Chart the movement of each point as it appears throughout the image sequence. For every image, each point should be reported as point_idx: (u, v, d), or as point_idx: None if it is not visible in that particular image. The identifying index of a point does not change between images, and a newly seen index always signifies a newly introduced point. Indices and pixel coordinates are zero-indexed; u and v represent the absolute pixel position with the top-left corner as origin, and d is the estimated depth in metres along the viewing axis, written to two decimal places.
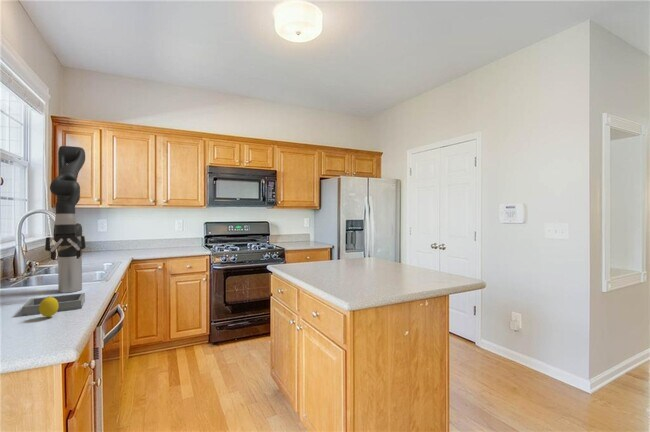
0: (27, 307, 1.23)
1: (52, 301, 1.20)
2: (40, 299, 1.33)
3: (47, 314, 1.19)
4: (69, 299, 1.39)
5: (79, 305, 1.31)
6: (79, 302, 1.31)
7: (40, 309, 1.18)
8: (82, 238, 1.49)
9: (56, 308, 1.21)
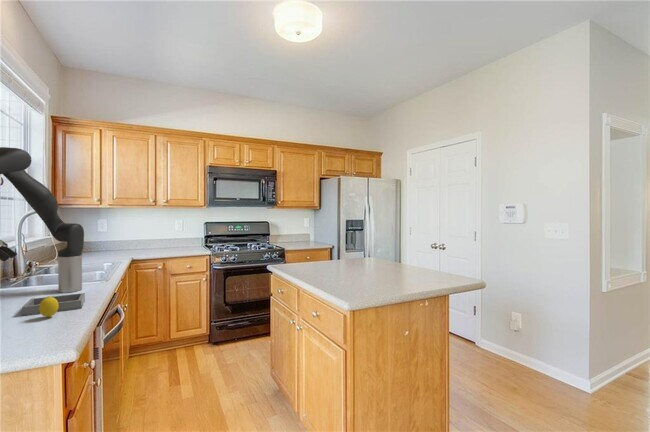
0: (27, 307, 1.23)
1: (52, 301, 1.20)
2: (40, 299, 1.33)
3: (47, 314, 1.19)
4: (69, 299, 1.39)
5: (79, 305, 1.31)
6: (79, 302, 1.31)
7: (40, 309, 1.18)
8: None
9: (56, 308, 1.21)
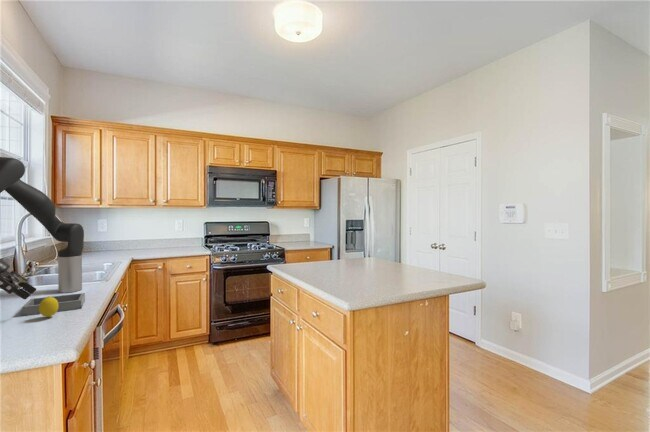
0: (27, 307, 1.23)
1: (52, 301, 1.20)
2: (40, 299, 1.33)
3: (47, 314, 1.19)
4: (69, 299, 1.39)
5: (79, 305, 1.31)
6: (79, 302, 1.31)
7: (40, 309, 1.18)
8: None
9: (56, 308, 1.21)
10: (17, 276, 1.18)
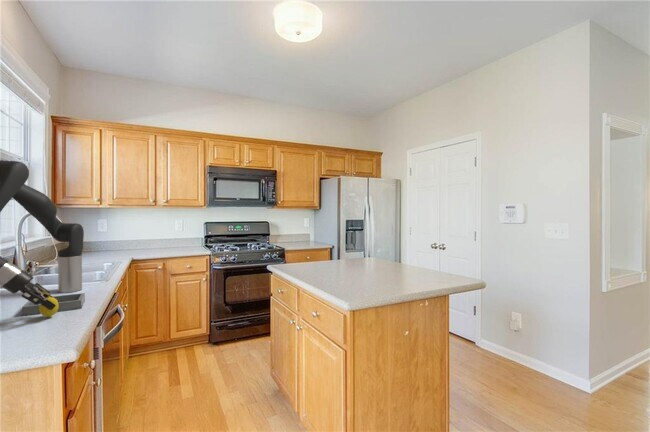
0: (27, 307, 1.23)
1: (52, 301, 1.20)
2: None
3: (47, 314, 1.19)
4: (69, 299, 1.39)
5: (79, 305, 1.31)
6: (79, 302, 1.31)
7: (40, 309, 1.18)
8: None
9: (56, 308, 1.21)
10: (40, 287, 1.21)
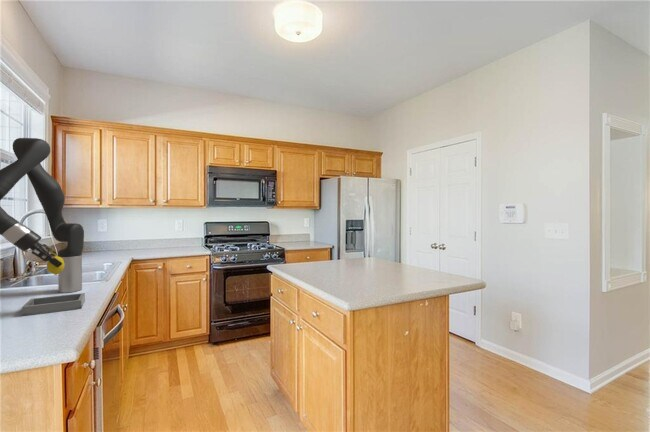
0: (27, 307, 1.23)
1: (59, 259, 1.31)
2: (40, 299, 1.33)
3: (54, 271, 1.30)
4: (69, 299, 1.39)
5: (79, 305, 1.31)
6: (79, 302, 1.31)
7: (48, 266, 1.29)
8: None
9: (62, 266, 1.32)
10: (48, 247, 1.32)
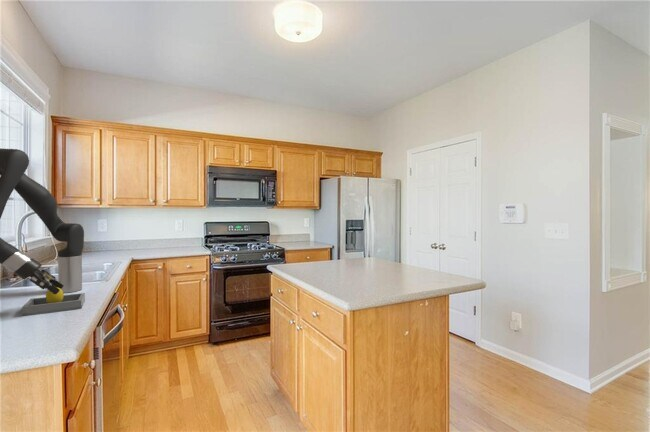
0: (27, 307, 1.23)
1: None
2: (40, 299, 1.33)
3: None
4: (69, 299, 1.39)
5: (79, 305, 1.31)
6: (79, 302, 1.31)
7: (47, 298, 1.29)
8: None
9: (61, 297, 1.32)
10: (47, 274, 1.32)
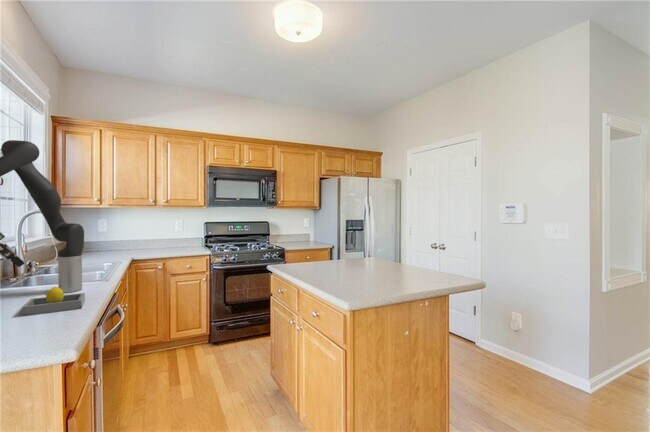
0: (27, 307, 1.23)
1: (58, 290, 1.31)
2: (40, 299, 1.33)
3: None
4: (69, 299, 1.39)
5: (79, 305, 1.31)
6: (79, 302, 1.31)
7: (47, 298, 1.29)
8: None
9: (61, 297, 1.32)
10: None
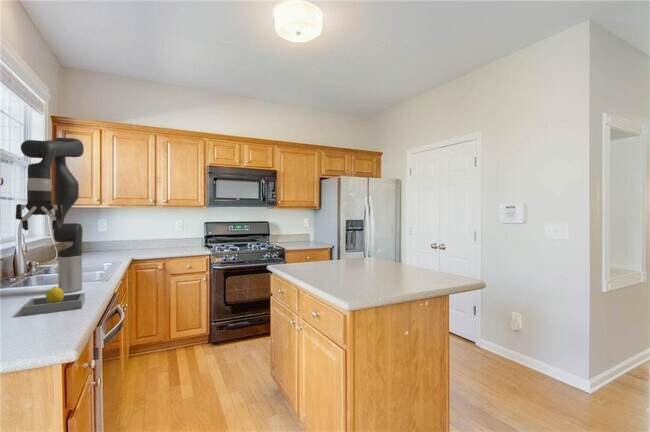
0: (27, 307, 1.23)
1: (58, 290, 1.31)
2: (40, 299, 1.33)
3: None
4: (69, 299, 1.39)
5: (79, 305, 1.31)
6: (79, 302, 1.31)
7: (47, 298, 1.29)
8: (59, 207, 1.33)
9: (61, 297, 1.32)
10: None
